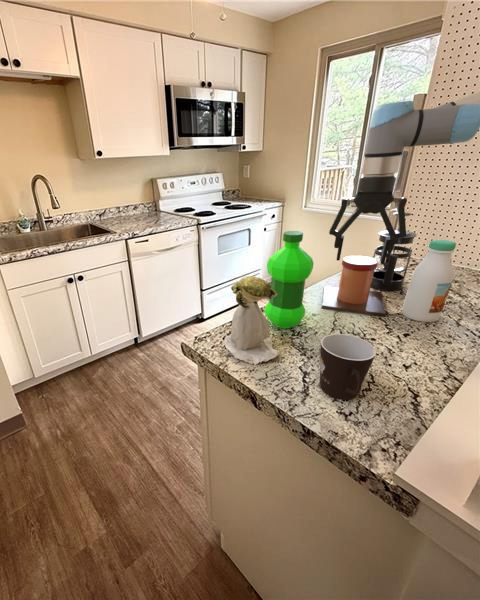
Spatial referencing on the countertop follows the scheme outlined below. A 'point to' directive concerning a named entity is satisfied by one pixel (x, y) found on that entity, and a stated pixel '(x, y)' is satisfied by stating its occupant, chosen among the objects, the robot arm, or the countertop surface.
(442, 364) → the countertop surface
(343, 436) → the countertop surface
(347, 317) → the countertop surface
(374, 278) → the french press
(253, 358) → the turtle figurine
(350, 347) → the coffee mug
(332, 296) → the board
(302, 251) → the plastic bottle
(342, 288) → the jar
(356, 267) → the lid
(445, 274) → the milk bottle
